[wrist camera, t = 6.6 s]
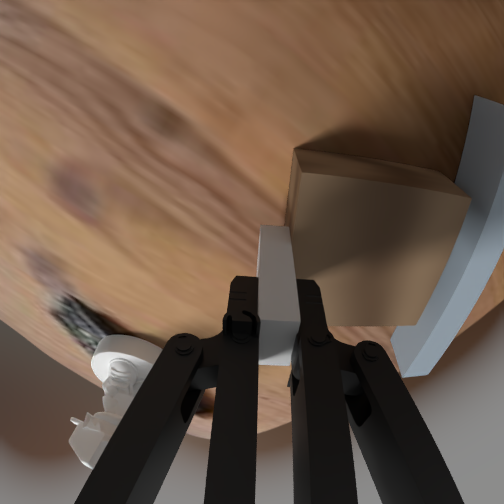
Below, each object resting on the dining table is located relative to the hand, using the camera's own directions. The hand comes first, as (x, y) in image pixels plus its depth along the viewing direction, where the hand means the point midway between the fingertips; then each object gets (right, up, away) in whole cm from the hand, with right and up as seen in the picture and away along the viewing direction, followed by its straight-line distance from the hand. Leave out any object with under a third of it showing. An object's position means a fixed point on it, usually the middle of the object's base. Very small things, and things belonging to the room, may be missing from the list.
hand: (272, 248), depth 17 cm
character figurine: (-12, -11, +11) cm, 20 cm away
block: (+5, +1, +2) cm, 6 cm away
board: (+12, +1, +2) cm, 13 cm away
